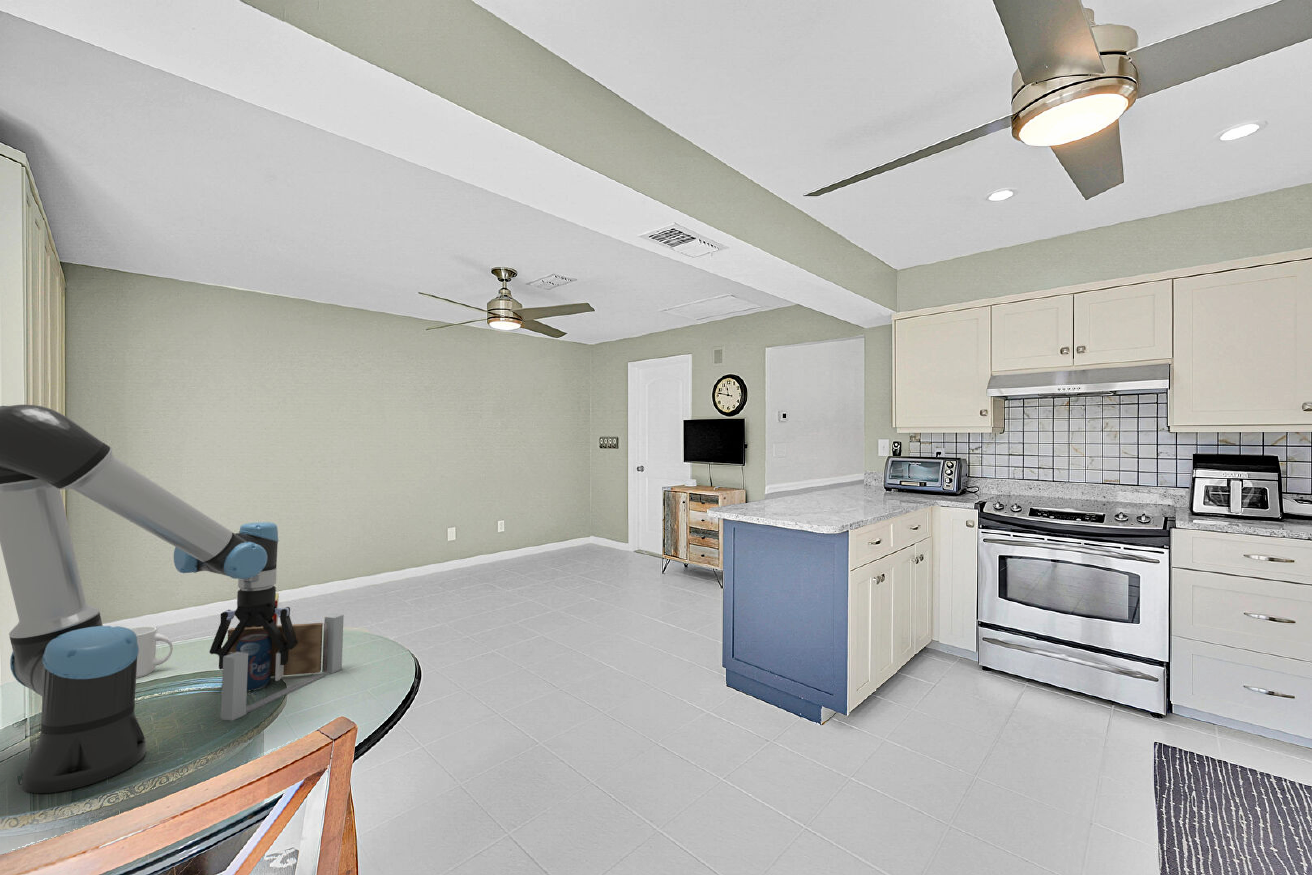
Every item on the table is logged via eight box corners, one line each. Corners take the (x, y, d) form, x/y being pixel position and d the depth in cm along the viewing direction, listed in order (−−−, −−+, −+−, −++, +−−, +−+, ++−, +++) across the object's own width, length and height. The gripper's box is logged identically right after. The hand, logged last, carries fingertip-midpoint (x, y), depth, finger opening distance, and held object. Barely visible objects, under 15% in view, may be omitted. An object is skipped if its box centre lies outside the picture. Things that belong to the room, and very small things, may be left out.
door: (225, 680, 133) (227, 630, 133) (231, 675, 136) (233, 626, 136) (325, 672, 139) (327, 624, 139) (329, 667, 142) (330, 620, 142)
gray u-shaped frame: (231, 720, 115) (234, 653, 115) (220, 718, 115) (223, 651, 116) (341, 668, 143) (343, 614, 143) (332, 667, 144) (334, 613, 144)
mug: (166, 675, 137) (168, 632, 138) (101, 684, 132) (103, 638, 132) (176, 663, 145) (178, 622, 145) (115, 671, 139) (117, 628, 139)
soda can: (255, 693, 128) (257, 641, 128) (226, 692, 128) (228, 640, 128) (277, 681, 135) (279, 631, 135) (249, 680, 135) (251, 631, 135)
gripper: (192, 593, 126) (188, 691, 125) (304, 588, 132) (300, 682, 131) (210, 585, 133) (206, 678, 133) (315, 581, 139) (312, 670, 138)
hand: (253, 680), depth 132 cm, fingers open, 10 cm apart
